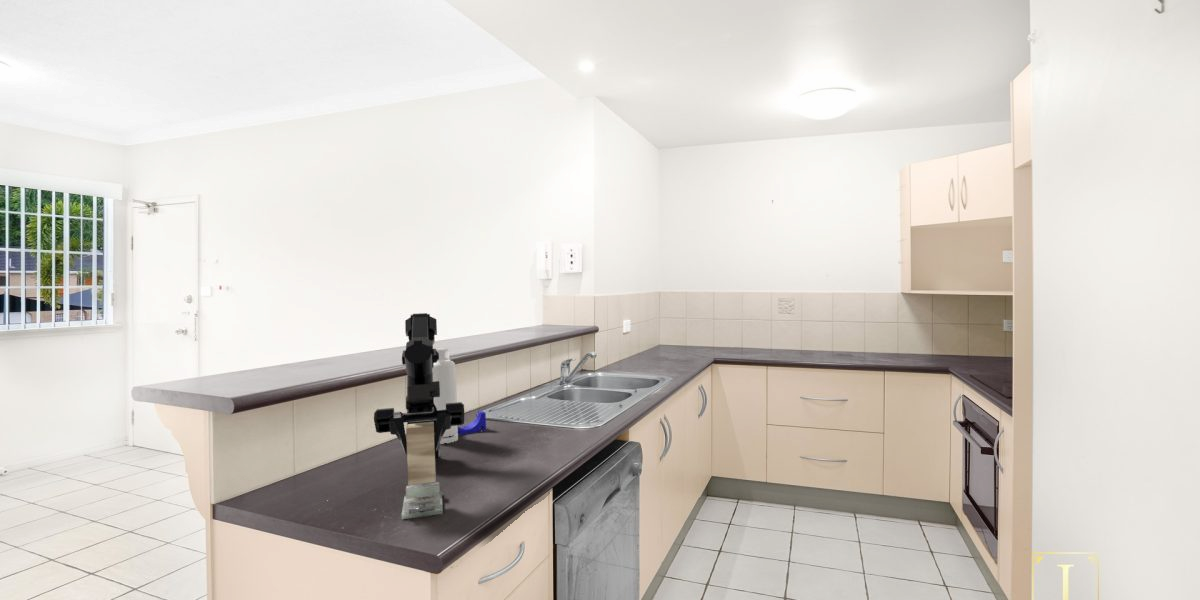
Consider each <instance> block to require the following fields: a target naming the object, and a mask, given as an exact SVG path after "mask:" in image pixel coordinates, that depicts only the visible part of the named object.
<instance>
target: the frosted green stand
mask: <svg viewBox="0 0 1200 600" xmlns="http://www.w3.org/2000/svg"><path fill="white" fill-rule="evenodd" d="M405 487H406V488H405V495H404V498H403V503H402V509H401V510H402V511H401V520H407V519H415V518H424V517H429V516H437V515H443V512H444V511H443V491H442V490H441V489H440V482H439V481H436V482H430V483H422V484H414V485H406V486H405ZM440 490H441V491H440Z"/></svg>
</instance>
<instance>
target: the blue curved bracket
mask: <svg viewBox="0 0 1200 600" xmlns="http://www.w3.org/2000/svg"><path fill="white" fill-rule="evenodd" d="M486 414H487V413H486V412H484V410H481V411H478V412H477V417H476V419H474V420H472V422H470V423H469V424H468V425H465V426H463V427H460V426H458V432H457V433H458V436H461V435H460V434H462V435H468V434H467V433H469V434H473V432H475V433H479V431H481V430H482V431H481V432H485V431H484V430H486V431H487V421H486V420H487V418H486V417H487V416H486Z"/></svg>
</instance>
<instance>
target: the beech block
mask: <svg viewBox="0 0 1200 600" xmlns="http://www.w3.org/2000/svg"><path fill="white" fill-rule="evenodd" d="M405 434H406V441H407V454H406V455H407V456H406V457H407V461H406V462H407V481H408V483H407V486H410V485H418V484H426V483H434V482H437V481H436V479H437V477H436V474H437V473H436V472H437V471H436V462H435V448H434V422H425V423H415V424H407V423H406V428H405Z"/></svg>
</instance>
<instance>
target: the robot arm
mask: <svg viewBox="0 0 1200 600" xmlns="http://www.w3.org/2000/svg"><path fill="white" fill-rule="evenodd" d="M404 321H405V322H404V323H405V324H404V325H405V327H404V329H405V331H404V332H405V336H406V337H408V341H407V342H406V344H405V349H404V350H402V355H401V364H402V365H403V366H405V372H406V375H407V378H406V380H407V381H406V385H407V386H406V396H405V410H406V412H402V411H395V409H394V407H390V408H380V409H379V408H378V409H376V410H375V411H374V412H373V421H374V427H375V432H376V433H378V434H381V433H382V434H383V433H389V434H390V435H393V436H394V435H395V436H396V438H397V439H398V440H399V442H400V444H401V447H402V449H403V452H404V454H405V455H407V438H406V428H405V423H406V425H407V424H415V423H425V422H434V448H435V463H437V461H438V460H439V458H440V456H441V444H440V440H441V438H443V437H442V436H443V434H444V433H445V431H446V430H447V429H450V428H451V426H457V425H458V426H463V425H464V424H465V404H464V403H463V402H461V401H457V402H456V403H446V410H437V408H436V406H435V405H434V397H440V384H439V381H435V382H433V372H432V368H433V367H434V363H436V362H437V360H439V353H438V352H437V351H436V349H437V348H434V344H435V343H436V341H435V339H436V338H435V336H438V327H437V318H435V317H433V316H431V314H430V313H426V312H425V313H424V312H423V313H412V314H410V317H409V318H408V319H405V320H404Z"/></svg>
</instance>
